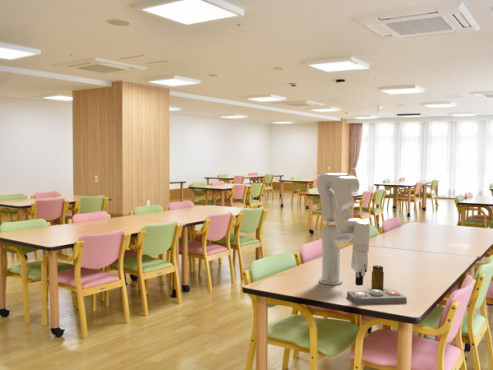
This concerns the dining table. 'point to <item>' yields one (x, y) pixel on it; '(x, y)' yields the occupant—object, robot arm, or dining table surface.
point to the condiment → (378, 278)
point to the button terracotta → (392, 293)
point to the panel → (376, 298)
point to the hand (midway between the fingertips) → (359, 284)
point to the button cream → (359, 294)
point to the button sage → (376, 292)
